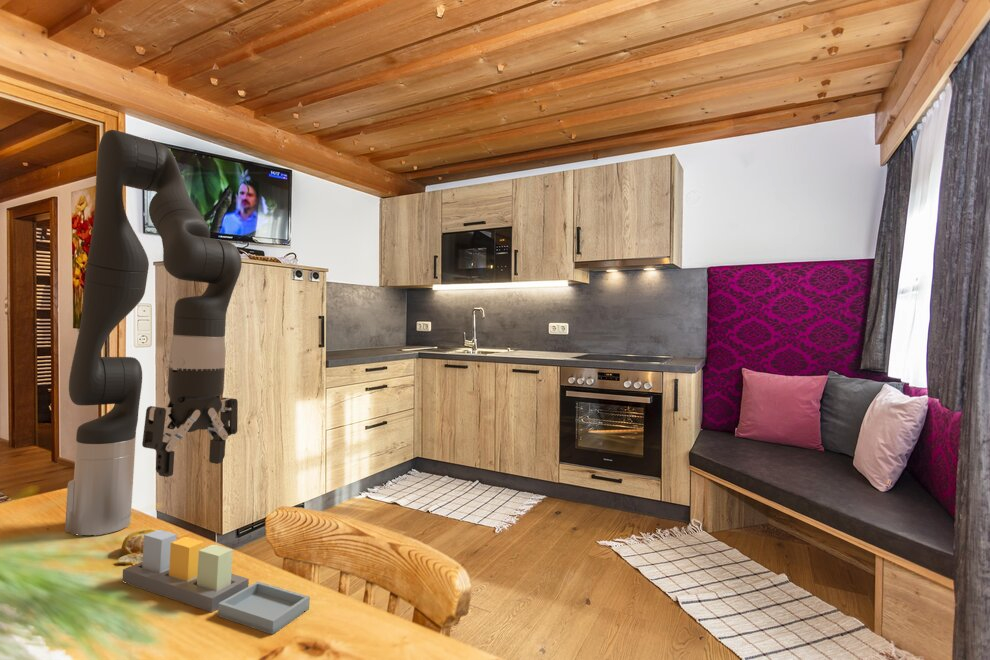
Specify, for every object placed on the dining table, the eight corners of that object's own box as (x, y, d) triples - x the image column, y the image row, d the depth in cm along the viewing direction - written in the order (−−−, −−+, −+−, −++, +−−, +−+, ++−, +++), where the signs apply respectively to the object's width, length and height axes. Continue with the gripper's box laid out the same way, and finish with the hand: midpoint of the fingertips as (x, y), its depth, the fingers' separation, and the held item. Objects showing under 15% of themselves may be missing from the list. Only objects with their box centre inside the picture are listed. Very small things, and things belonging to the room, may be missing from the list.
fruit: (122, 570, 83) (123, 548, 83) (106, 554, 88) (108, 533, 88) (178, 555, 89) (179, 534, 89) (160, 540, 94) (162, 521, 94)
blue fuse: (141, 579, 80) (144, 534, 80) (156, 572, 82) (159, 529, 82) (159, 584, 78) (161, 539, 79) (174, 577, 81) (176, 534, 81)
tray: (217, 616, 71) (218, 603, 71) (256, 593, 78) (257, 581, 78) (272, 634, 68) (273, 621, 68) (309, 608, 74) (309, 596, 74)
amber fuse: (168, 587, 78) (170, 542, 78) (183, 580, 80) (185, 536, 80) (186, 593, 76) (189, 547, 76) (201, 586, 79) (204, 541, 79)
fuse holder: (122, 582, 79) (122, 569, 79) (161, 565, 85) (162, 553, 85) (211, 612, 72) (212, 598, 72) (248, 591, 78) (248, 578, 78)
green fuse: (196, 597, 76) (198, 550, 76) (210, 589, 78) (213, 544, 78) (215, 603, 74) (218, 556, 74) (230, 595, 77) (232, 549, 77)
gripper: (219, 361, 86) (214, 456, 86) (134, 365, 73) (128, 476, 73) (252, 364, 84) (247, 462, 84) (171, 368, 71) (164, 484, 70)
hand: (191, 469), depth 78 cm, fingers open, 8 cm apart
